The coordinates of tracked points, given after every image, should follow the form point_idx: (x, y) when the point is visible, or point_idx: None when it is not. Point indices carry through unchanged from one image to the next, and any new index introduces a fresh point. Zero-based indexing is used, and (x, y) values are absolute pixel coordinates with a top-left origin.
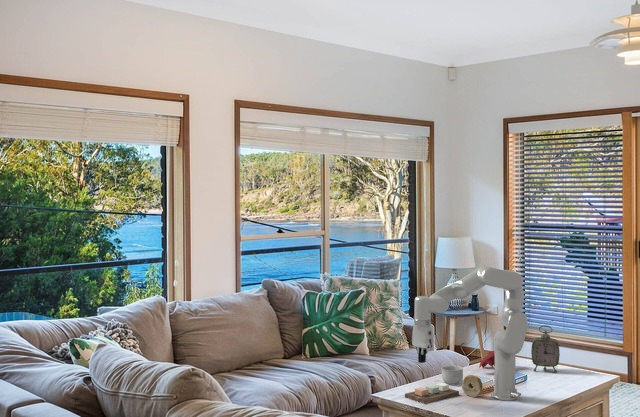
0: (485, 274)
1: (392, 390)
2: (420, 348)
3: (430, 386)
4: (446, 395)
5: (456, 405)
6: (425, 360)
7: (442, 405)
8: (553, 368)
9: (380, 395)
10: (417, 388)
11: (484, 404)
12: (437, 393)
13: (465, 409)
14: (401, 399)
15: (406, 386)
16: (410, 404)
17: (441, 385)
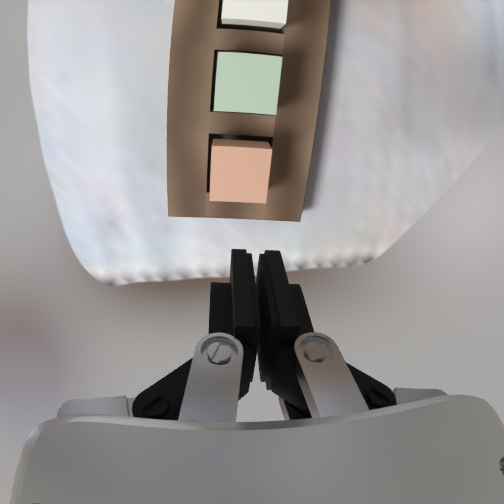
0: None
1: (56, 176)
2: (191, 408)
3: (236, 86)
4: (323, 53)
5: (413, 128)
6: (282, 264)
7: (372, 171)
8: None
9: (96, 265)
10: (214, 185)
11: (472, 46)
12: (282, 76)
13: (454, 152)
14: (186, 240)
15: (39, 74)
16: None
17: (270, 16)
